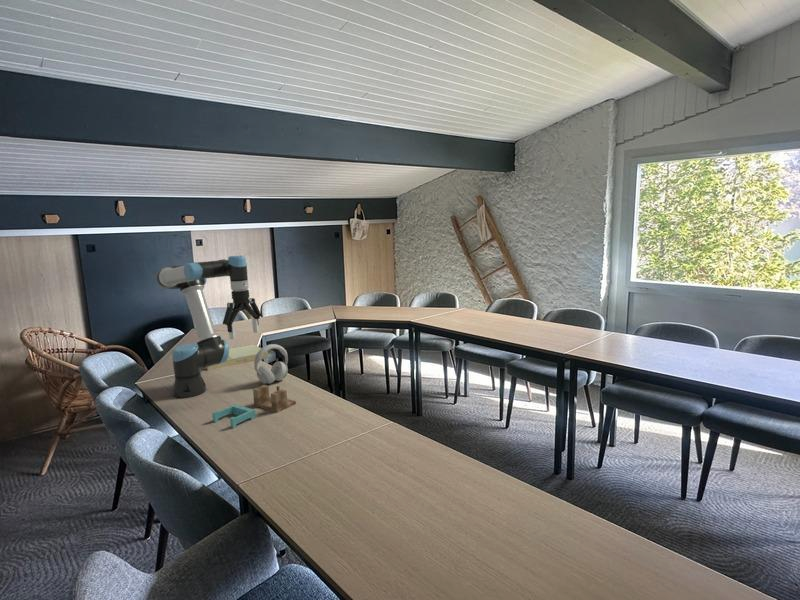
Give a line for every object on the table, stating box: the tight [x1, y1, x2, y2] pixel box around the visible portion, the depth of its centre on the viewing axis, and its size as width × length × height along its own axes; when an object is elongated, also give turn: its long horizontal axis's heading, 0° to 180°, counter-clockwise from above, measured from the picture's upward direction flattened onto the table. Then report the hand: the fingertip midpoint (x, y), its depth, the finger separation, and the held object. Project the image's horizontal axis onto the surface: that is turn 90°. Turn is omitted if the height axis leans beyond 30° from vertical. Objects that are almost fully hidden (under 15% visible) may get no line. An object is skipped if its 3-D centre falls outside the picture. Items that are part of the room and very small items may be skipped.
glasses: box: [211, 404, 257, 429], centre depth 195 cm, size 11×13×4 cm
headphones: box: [253, 343, 289, 385], centre depth 238 cm, size 18×10×20 cm, turn 137°
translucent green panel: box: [204, 344, 269, 371], centre depth 282 cm, size 36×5×24 cm
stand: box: [252, 384, 297, 413], centre depth 209 cm, size 11×15×8 cm
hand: (244, 335), depth 213 cm, fingers open, 13 cm apart
